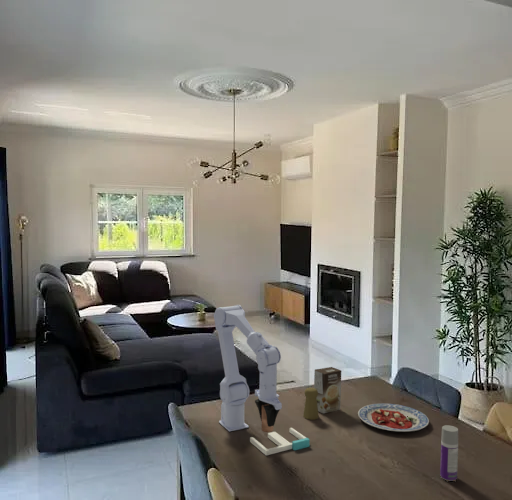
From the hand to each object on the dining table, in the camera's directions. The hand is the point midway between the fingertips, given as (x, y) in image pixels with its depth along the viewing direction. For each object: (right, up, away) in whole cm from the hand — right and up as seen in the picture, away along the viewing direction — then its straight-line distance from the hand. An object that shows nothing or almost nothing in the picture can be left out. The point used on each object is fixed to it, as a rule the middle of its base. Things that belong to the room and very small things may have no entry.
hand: (267, 423), depth 163 cm
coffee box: (+25, -6, +32) cm, 41 cm away
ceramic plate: (+48, -7, +21) cm, 53 cm away
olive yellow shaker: (+17, -6, +25) cm, 31 cm away
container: (+53, -9, -19) cm, 57 cm away
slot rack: (+4, -8, +2) cm, 9 cm away
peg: (0, -2, 0) cm, 2 cm away
